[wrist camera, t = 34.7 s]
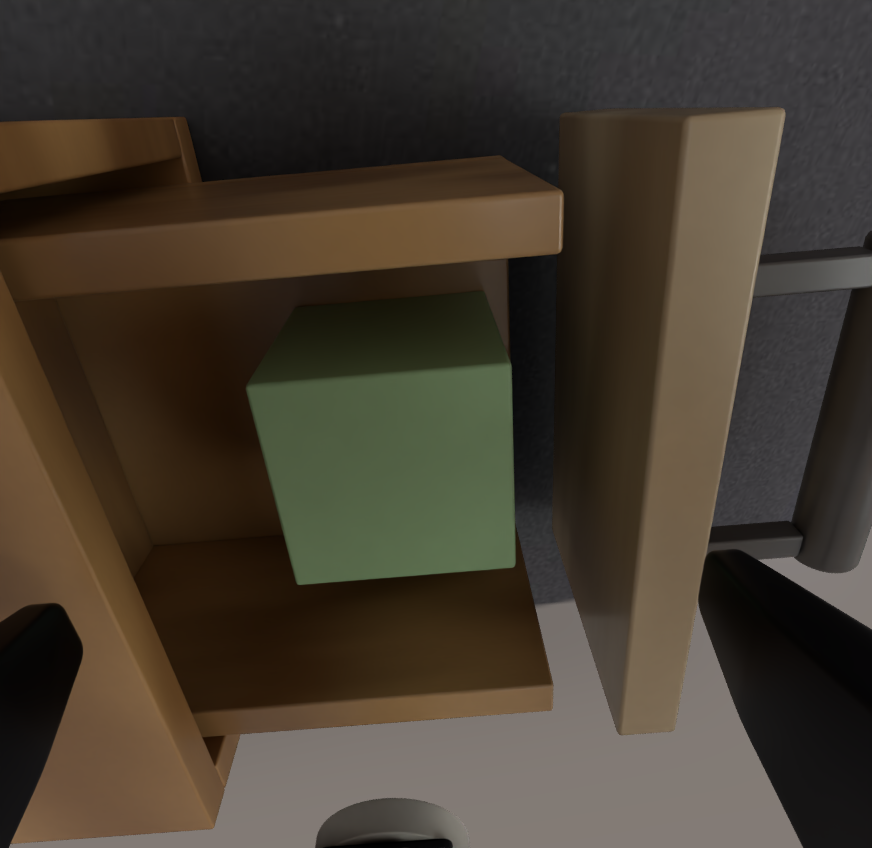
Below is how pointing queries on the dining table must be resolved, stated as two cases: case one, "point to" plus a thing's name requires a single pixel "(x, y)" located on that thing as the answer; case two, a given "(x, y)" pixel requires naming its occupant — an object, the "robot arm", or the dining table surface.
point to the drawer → (574, 359)
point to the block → (389, 438)
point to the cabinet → (92, 540)
